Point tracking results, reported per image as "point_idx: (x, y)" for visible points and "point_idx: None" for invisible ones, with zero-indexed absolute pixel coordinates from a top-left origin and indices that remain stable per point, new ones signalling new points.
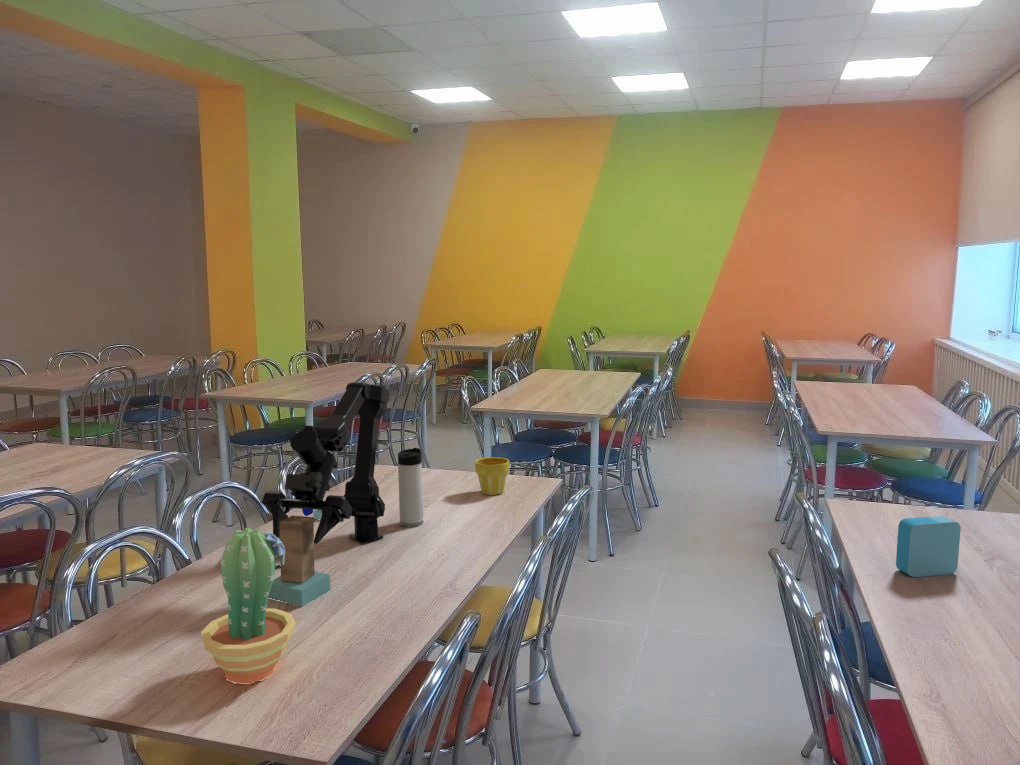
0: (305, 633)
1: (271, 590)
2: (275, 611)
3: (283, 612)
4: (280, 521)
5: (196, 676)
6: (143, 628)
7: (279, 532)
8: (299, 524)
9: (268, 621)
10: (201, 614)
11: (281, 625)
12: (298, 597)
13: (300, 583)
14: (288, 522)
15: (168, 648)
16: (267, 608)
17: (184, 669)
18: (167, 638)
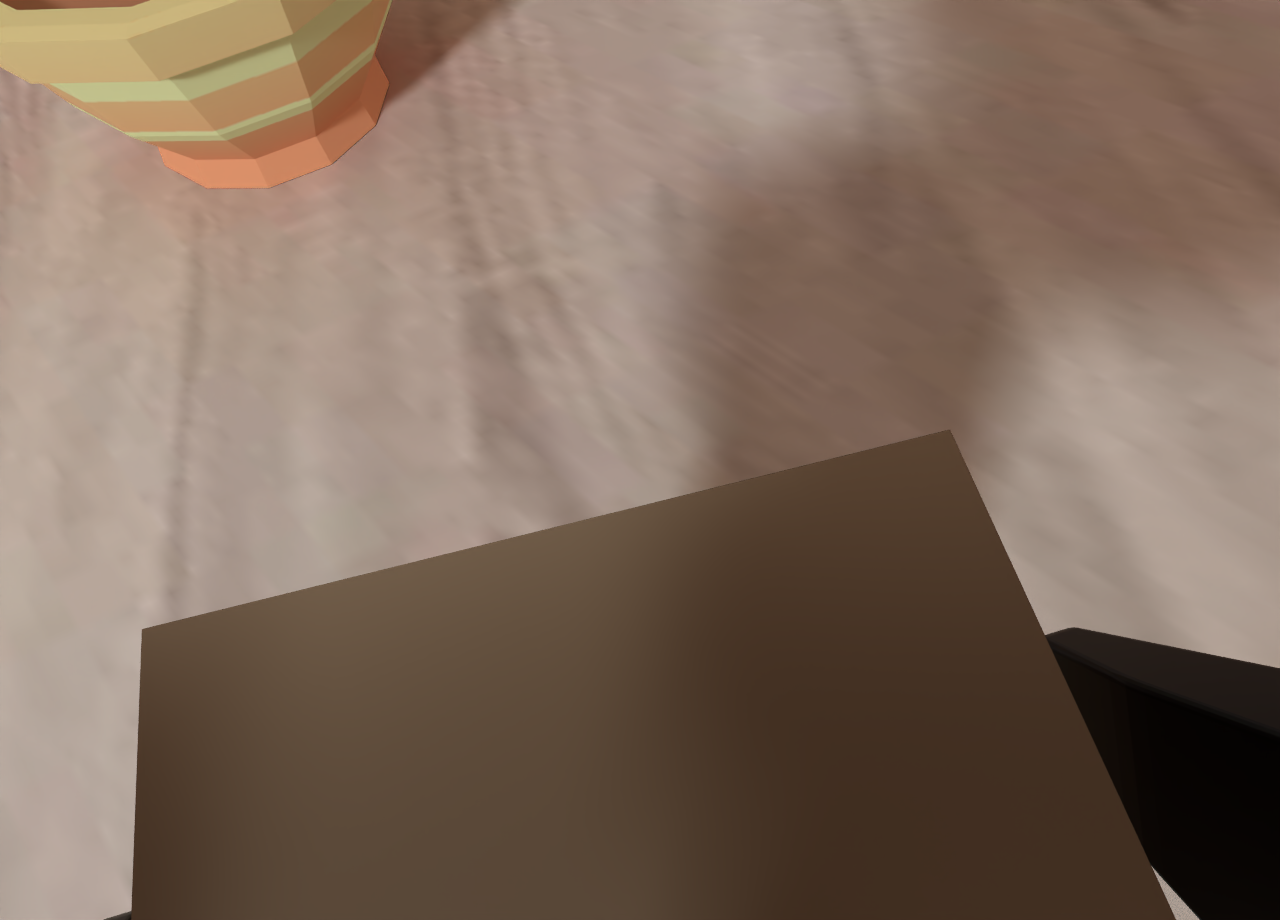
0: (219, 437)
1: None
2: (101, 16)
3: (41, 30)
4: (955, 468)
5: (468, 2)
6: (1126, 85)
7: (1195, 854)
8: (221, 624)
9: (132, 3)
10: (1038, 305)
11: (28, 9)
12: None
13: None
14: (640, 531)
15: (792, 50)
16: (182, 20)
17: (560, 5)
18: (897, 88)
